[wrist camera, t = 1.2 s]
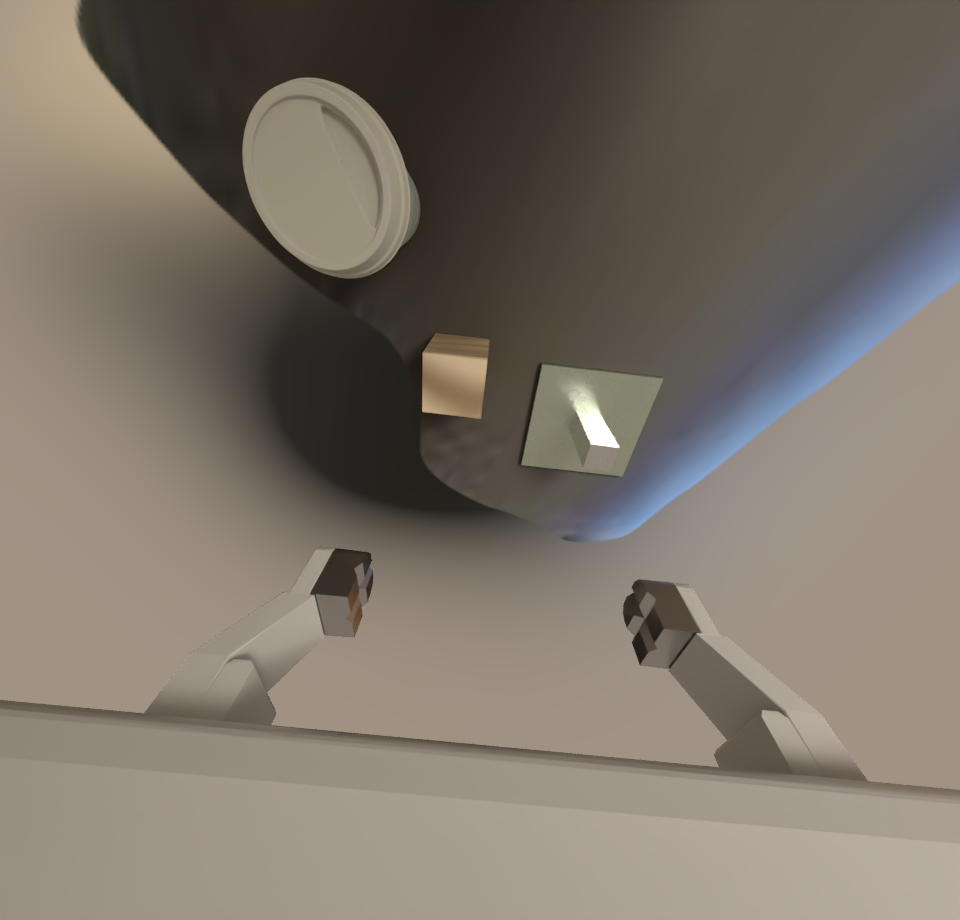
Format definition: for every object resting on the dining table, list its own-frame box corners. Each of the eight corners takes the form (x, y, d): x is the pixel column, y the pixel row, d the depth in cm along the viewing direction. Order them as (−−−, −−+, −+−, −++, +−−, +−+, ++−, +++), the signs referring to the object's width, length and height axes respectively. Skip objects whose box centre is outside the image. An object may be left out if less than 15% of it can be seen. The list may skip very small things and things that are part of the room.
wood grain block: (435, 332, 32) (422, 352, 27) (489, 339, 32) (487, 360, 27) (434, 384, 35) (422, 411, 30) (483, 390, 35) (480, 418, 30)
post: (541, 362, 33) (550, 388, 28) (660, 376, 34) (694, 406, 28) (521, 462, 40) (524, 500, 34) (620, 473, 40) (641, 513, 34)
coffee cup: (430, 276, 30) (395, 297, 20) (332, 253, 29) (245, 262, 19) (445, 149, 25) (409, 92, 15) (329, 118, 24) (211, 36, 14)
